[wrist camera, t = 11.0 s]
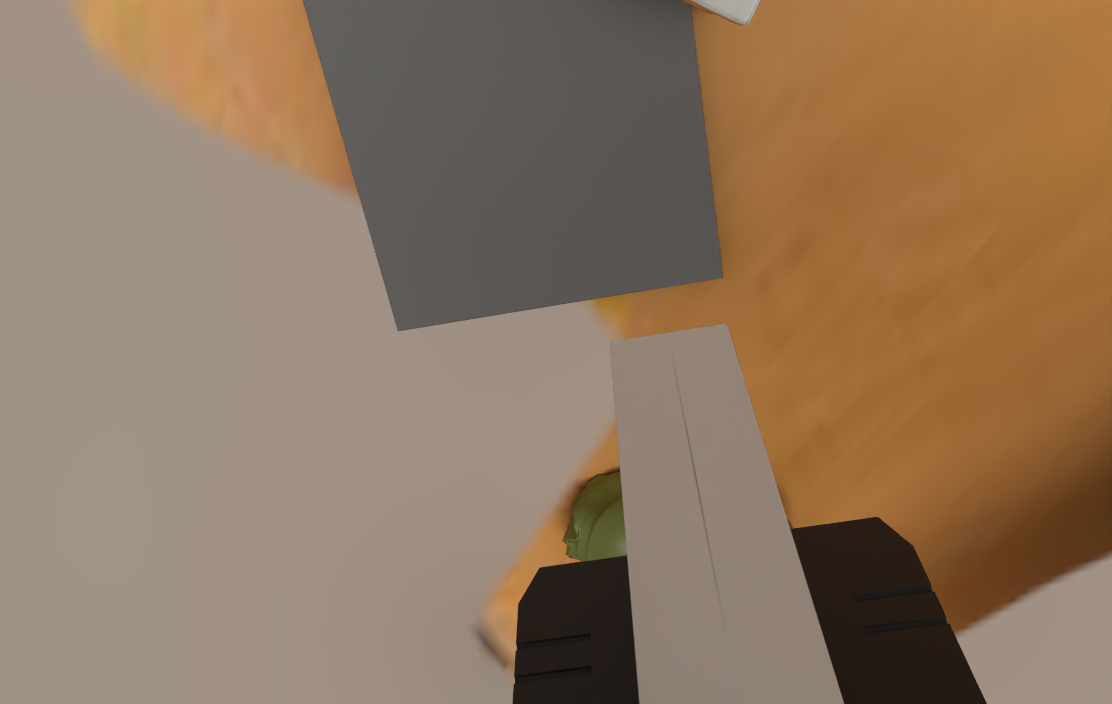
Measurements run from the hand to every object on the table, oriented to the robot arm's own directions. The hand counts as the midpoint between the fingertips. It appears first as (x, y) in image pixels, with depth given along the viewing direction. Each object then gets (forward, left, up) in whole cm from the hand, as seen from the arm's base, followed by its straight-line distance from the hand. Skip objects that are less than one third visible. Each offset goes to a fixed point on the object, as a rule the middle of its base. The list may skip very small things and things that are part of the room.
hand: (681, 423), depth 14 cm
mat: (-2, +4, -26) cm, 26 cm away
